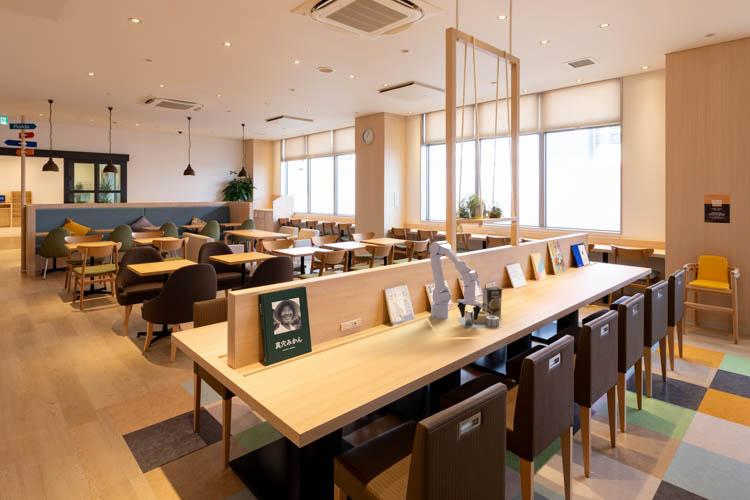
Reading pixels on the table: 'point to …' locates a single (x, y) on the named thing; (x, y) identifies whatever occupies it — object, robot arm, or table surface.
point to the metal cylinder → (469, 317)
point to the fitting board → (475, 324)
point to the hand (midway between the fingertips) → (469, 318)
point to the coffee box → (492, 301)
